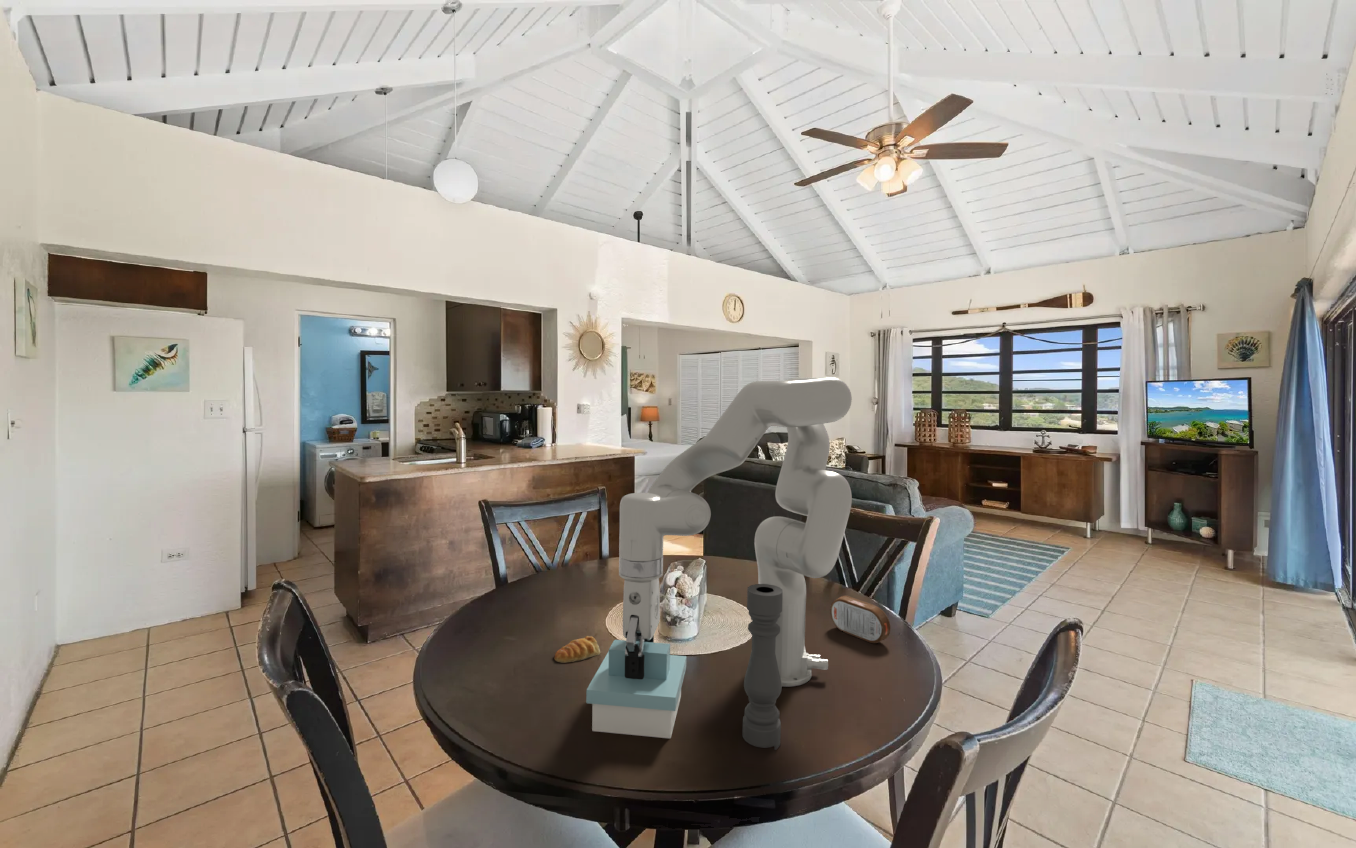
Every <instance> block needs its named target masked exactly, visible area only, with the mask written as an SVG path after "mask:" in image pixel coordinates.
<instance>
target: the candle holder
mask: <svg viewBox="0 0 1356 848" xmlns="http://www.w3.org/2000/svg"><path fill="white" fill-rule="evenodd" d="M746 592H747V594H746V595H747V597H746V598H747V599H746V609H747V611H748V616H750V617H749V618H750V620H751V622H750V623H748V625H747V631H748V632H750V634H751V653H750V656H749V660H748V664H747V668H746V671H745V675H744V681H743V687H744V688H743V689H744V691H745V694H746V696H748V702H749V703H747V705H746V706H745V707H744V716H743V717H742V736H741V737H742V738H743V740H744V741H745V743H748V744H749V745H751V746H753V747H757V748H764V749H766V748H772V747H774V751H776V750H778V749H779V747H780V746H781V735H782V734H781V731H782V730H781V729H782V724H781V718H780V710H779V709H778V707H777V705H776V704H777V699H778V698H779V697H780V695H781V693H782V690H783V689H782V683H781V678H780V673H779V668H778V663H777V658H776V654H775V648H776V636H777V635H778V634H779V633H780V626H779V625H778V624H777V623H776V622H777V621H778V618H779V617H780V613H781V612H782V600H783V590H782V589H781V588H780V587H777V586H774V585H769V584H758V583H754V584H751V585H749V586H747V591H746Z"/></svg>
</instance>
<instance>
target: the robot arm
mask: <svg viewBox="0 0 1356 848" xmlns="http://www.w3.org/2000/svg"><path fill="white" fill-rule="evenodd" d="M852 400H853V399H852V392H851V389H850V388H849V386H848V385H847V383H845V381H843V380H842V379H840V378H838V377H828V376H827V377H793V378H788V379H785V380H757V381H752V382H749V383H748V384H746V385H744V386H743V387H742V388H741V389H740V390H739V392H738V393H737V394H736V396H735V397H734V398H733V400H732V401H731V402H730V404H729V405H728V406H727V408H726V409H725V410H724V412H723V413H722V414H721V416H720V417H719V418H718V419H717V421H716V422H715V423H714V425H713V427H712V428H711V429H710V430H709V431H708V432H707V434H706V435H705V436H703V438H702V439H700V440H698V441H697V442H695V443H694V444H693V445H691V446H689V447H688V448H687V449H686V450H684V451H682V452H681V453H679V455H677V456H676V457H674V458H673V460H671V461H670V462H669V463H668V464H667V465H666V466H665V468H664V469H663V470H662V471H661V473H660V474H659V475H658V476H657V477H656V479H655V481H653V483H652V485H651V486H650V487H649V489H648V491H647V492H635V493H634V492H633V493H628V494H626V495H623V496H622V497H621V499H620V503H619V538H618V539H619V542H618V543H619V545H618V548H619V549H618V550H619V551H618V552H619V553H618V555H619V557H618V576H619V577H620V578H621V579H622V580H623V579H624V584H623V591H622V592H623V598H622V599H623V602H622V635H623V637H624V638H625V640H626V649H625V678H629V679H643V678H644V659H645V655H644V654H643V646H644V642H653V643H655V642H654V641H655V637H654V636H655V633H656V630H657V629H658V626H659V623H660V620H661V606H660V605H661V604H660V601H661V600H660V599H661V597H660V578H662V577H663V575H664V536H680V537H687V536H689V537H690V536H694V535H697V534H700V533H702V531H704V530H705V529H706V527H708V525H709V523H710V520H711V515H712V512H711V508H710V505H709V503H708V502H707V501H706V499H704V497H703V496H701V495H699V494H697V493H694V492H691V491H693V489H694V488H695V487H696V486H697V485H699V484H700V483H701V482H703V481H704V480H706V479H707V478H709V477H711V476H714V475H717V474H720V473H723V472H724V473H725V472H726V471H730V470H732V469H735V468H738V467H739V466H741V465H742V464H743V463H744V462H745V461H746V460H747V458H748V456H749V455H750V454H751V453H752V451H753V450H754V448H755V447H756V445H758V443H759V442H760V439H762V437H764V434H765V433H766V432H767V431H768V429H769V428H770V427H777V428H778V427H779V428H786V430H787V437H788V438H787V445H786V448H785V449H786V450H785V454H784V458H783V460H782V464H781V465H782V466H781V468H780V472H779V475H778V479H777V483H776V486H775V501H776V503H777V504H778V505H779V506H780V507H781V508H782V509H784V510H786V511H789V512H792V513H794V514H798V515H802V516H806V521H805V522H804V521H801V520H797V519H793V518H790V517H785V516H780V515H779V516H770V517H768V518H766V519H764V520H762V521H761V522H760V523H759V525H758V526H757V528H756V531H755V534H754V542H753V543H754V550H755V551H754V552H755V558H756V564H757V573H758V574H757V575H758V583H757V584H769V585H774V586H777V587H780V588H781V589H782V590H783V600H782V612H781V613H780V617H779V618H778V621H777V622H776V623H777V624H778V625H779V626H780V633H779V634H778V635H777V636H776V648H775V654H776V658H777V663H778V668H779V673H780V678H781V683H782V687H785V688H786V687H787V688H788V687H796V686H797V687H798V686H801V685H804V684H806V683H807V682H808V681H810V680H811V678H812V672H813V671H812V670H813V669H818V670H824V671H825V670H826V671H827V670H829V660H828V659H827V658H826V659H825V658H821V654H815V653H814V654H809V652H807V651H806V646H805V643H806V642H805V641H806V640H805V639H806V637H805V636H806V608H807V607H806V603H807V585H806V580H805V577H808V578H811V579H812V578H813V579H818V578H823V577H826V576H827V575H828V574H829V573H831V571H832V570H833V569H834V567H835V565H836V562H837V560H838V558H839V555H840V552H841V548H842V543H843V540H844V536H845V531H846V528H847V525H848V521H849V517H850V513H851V509H852V502H853V501H852V500H853V499H852V498H853V497H852V490H851V487H850V486H851V485H850V483H849V481H848V480H847V479H846V478H845V476H844V475H842V474H840V473H837V472H835V471H831V470H826V468H827V464H828V460H829V459H828V458H829V455H830V449H831V443H830V438H829V437H830V436H829V434H828V430H827V428H826V426H825V424H830V423H835V422H839V420H841V419H842V418H844V417H845V416H846V415H847V414H848V412H849V411H850V409H851V406H852V402H853V401H852ZM636 641H640V643H639V646H638V644H636Z"/></svg>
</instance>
